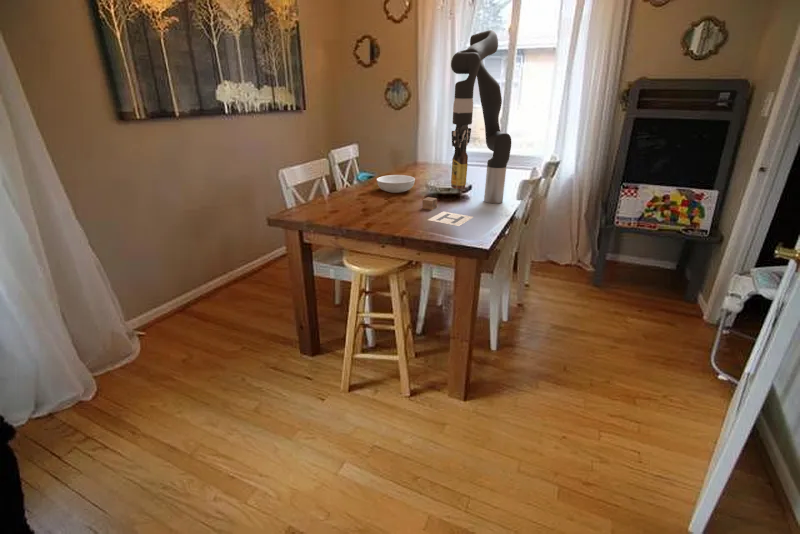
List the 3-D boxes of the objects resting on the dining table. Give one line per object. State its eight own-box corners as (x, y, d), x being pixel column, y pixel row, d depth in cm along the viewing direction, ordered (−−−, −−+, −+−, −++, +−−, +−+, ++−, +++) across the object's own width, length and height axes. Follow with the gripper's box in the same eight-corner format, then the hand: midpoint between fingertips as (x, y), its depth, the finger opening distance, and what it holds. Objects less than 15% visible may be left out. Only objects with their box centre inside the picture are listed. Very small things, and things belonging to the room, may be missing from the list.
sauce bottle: (449, 186, 169) (451, 137, 160) (463, 185, 169) (466, 137, 161) (452, 190, 163) (455, 139, 155) (467, 189, 164) (471, 139, 155)
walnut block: (427, 207, 191) (427, 197, 189) (436, 208, 189) (437, 198, 187) (422, 209, 187) (422, 199, 185) (431, 211, 185) (432, 200, 183)
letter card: (443, 212, 183) (443, 211, 183) (473, 218, 175) (473, 216, 175) (427, 221, 171) (427, 219, 171) (459, 227, 164) (459, 226, 164)
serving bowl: (391, 184, 234) (391, 173, 231) (421, 190, 222) (422, 177, 220) (369, 192, 218) (368, 179, 215) (400, 197, 207) (400, 184, 204)
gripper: (461, 109, 161) (458, 153, 168) (445, 111, 150) (443, 158, 157) (479, 110, 157) (475, 154, 165) (464, 112, 146) (461, 159, 153)
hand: (460, 156), depth 161 cm, fingers closed on sauce bottle, 5 cm apart
